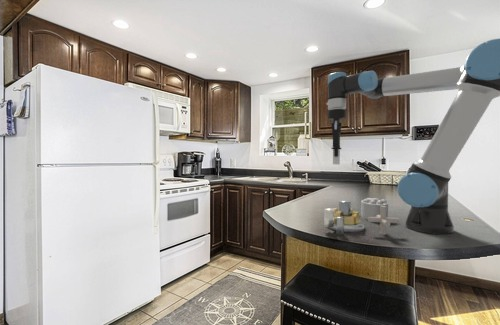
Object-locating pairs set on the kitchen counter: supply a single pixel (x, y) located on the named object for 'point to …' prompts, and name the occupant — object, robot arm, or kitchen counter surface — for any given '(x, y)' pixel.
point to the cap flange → (346, 211)
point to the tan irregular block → (333, 213)
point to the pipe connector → (383, 220)
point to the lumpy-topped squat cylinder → (372, 207)
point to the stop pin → (340, 225)
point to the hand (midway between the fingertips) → (336, 164)
